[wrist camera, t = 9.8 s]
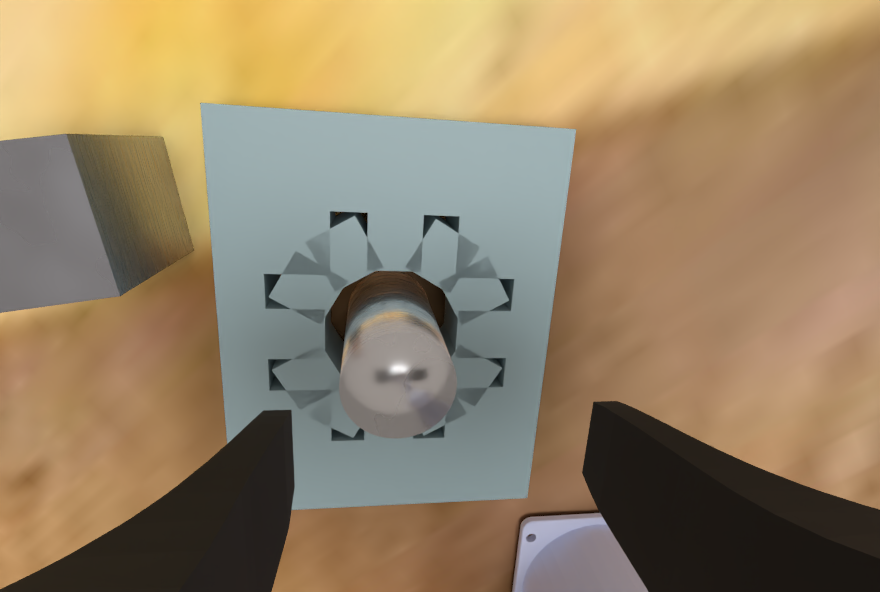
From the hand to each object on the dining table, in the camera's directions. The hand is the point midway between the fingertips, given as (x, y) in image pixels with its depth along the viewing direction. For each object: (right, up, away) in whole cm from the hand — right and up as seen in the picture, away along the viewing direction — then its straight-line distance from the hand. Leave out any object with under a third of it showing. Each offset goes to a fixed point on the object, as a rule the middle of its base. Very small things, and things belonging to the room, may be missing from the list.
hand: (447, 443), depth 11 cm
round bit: (-2, +3, +9) cm, 10 cm away
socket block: (-2, +3, +9) cm, 10 cm away
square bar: (-12, +7, +7) cm, 15 cm away
